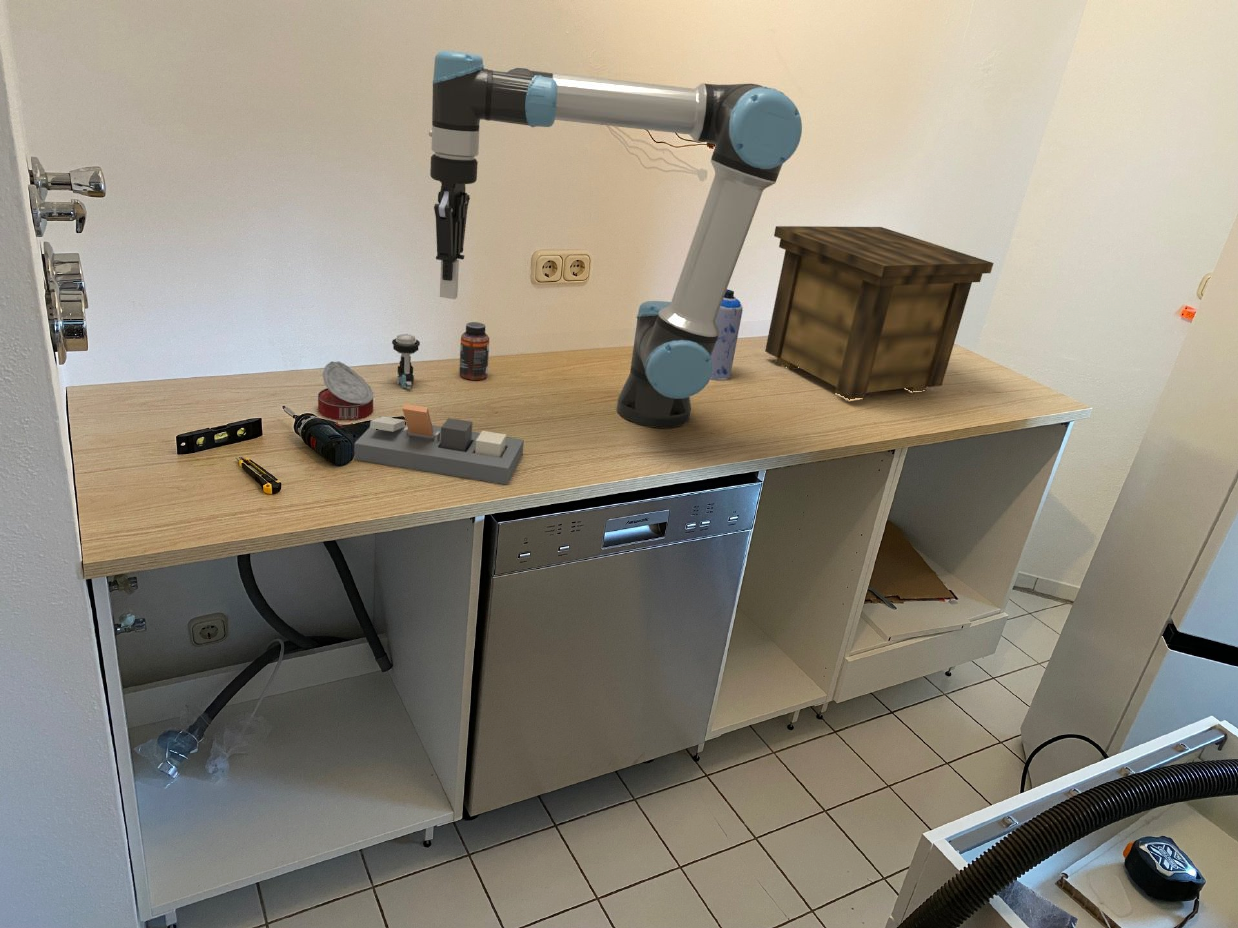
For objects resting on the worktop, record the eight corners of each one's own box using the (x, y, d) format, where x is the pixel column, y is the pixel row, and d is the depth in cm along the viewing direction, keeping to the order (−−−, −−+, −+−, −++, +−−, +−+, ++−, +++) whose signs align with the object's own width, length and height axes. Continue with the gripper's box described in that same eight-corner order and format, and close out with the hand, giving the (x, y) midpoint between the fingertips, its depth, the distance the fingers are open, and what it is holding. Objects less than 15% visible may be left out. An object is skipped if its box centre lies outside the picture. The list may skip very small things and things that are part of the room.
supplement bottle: (493, 376, 193) (496, 325, 189) (474, 383, 189) (477, 331, 184) (471, 369, 196) (474, 318, 191) (453, 375, 191) (455, 323, 186)
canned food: (352, 422, 176) (375, 375, 175) (370, 437, 168) (393, 389, 167) (298, 401, 168) (321, 353, 168) (314, 416, 161) (338, 366, 160)
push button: (422, 391, 181) (423, 343, 177) (395, 392, 179) (396, 344, 175) (415, 379, 187) (416, 332, 182) (389, 380, 185) (389, 332, 180)
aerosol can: (737, 377, 212) (753, 294, 203) (714, 382, 207) (729, 297, 199) (714, 366, 217) (728, 284, 209) (690, 370, 212) (704, 287, 204)
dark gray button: (471, 442, 157) (472, 421, 155) (464, 452, 153) (465, 431, 151) (447, 439, 157) (448, 417, 155) (440, 448, 153) (441, 427, 151)
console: (522, 455, 161) (524, 432, 159) (507, 484, 150) (509, 460, 148) (379, 431, 162) (380, 409, 160) (354, 459, 151) (354, 435, 149)
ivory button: (504, 455, 157) (506, 434, 155) (498, 465, 153) (500, 444, 151) (480, 451, 157) (482, 430, 155) (474, 461, 153) (475, 440, 152)
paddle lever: (435, 435, 155) (429, 407, 148) (433, 440, 155) (427, 413, 148) (410, 430, 156) (403, 403, 149) (408, 436, 155) (400, 409, 148)
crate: (847, 411, 201) (884, 265, 187) (750, 357, 227) (775, 226, 213) (953, 397, 219) (993, 263, 205) (851, 348, 245) (880, 227, 231)
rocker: (404, 426, 158) (405, 420, 157) (393, 431, 152) (393, 424, 152) (382, 423, 158) (382, 416, 158) (369, 427, 152) (370, 420, 152)
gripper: (443, 148, 153) (438, 284, 164) (419, 157, 142) (415, 303, 152) (487, 154, 153) (479, 291, 163) (466, 163, 141) (459, 310, 151)
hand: (448, 297), depth 157 cm, fingers closed
